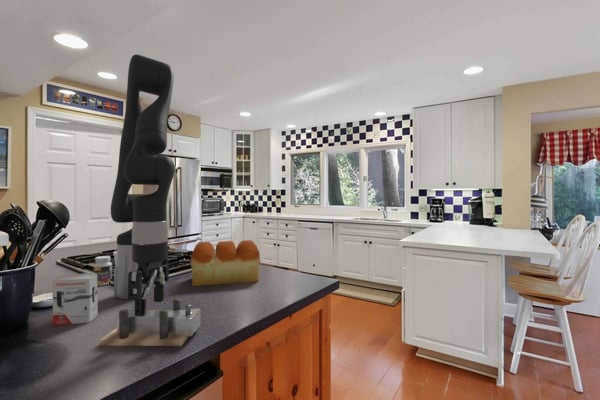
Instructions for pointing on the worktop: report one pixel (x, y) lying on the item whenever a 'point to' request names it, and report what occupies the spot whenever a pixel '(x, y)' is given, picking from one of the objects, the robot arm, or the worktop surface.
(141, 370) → the worktop surface
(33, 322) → the worktop surface
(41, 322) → the worktop surface
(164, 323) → the rack
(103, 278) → the pill bottle
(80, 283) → the ink box
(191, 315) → the grey pegged bar
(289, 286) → the worktop surface
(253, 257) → the bread
